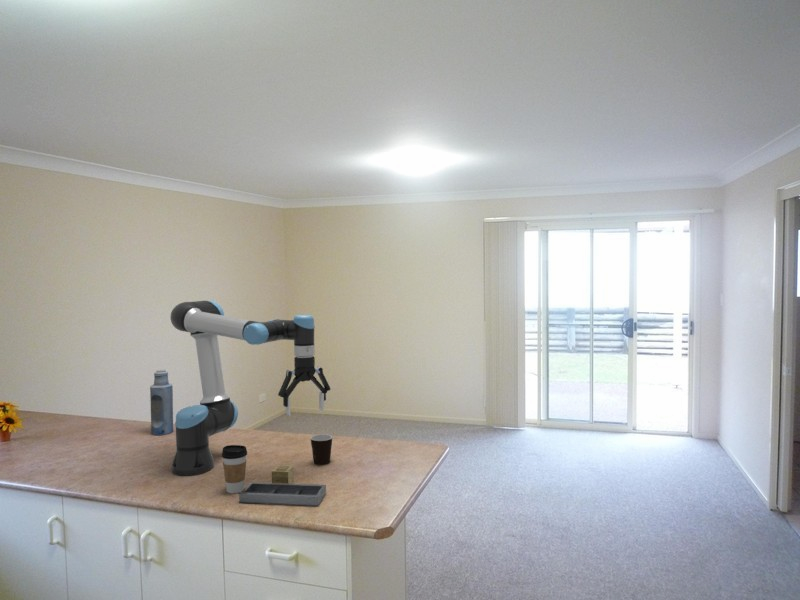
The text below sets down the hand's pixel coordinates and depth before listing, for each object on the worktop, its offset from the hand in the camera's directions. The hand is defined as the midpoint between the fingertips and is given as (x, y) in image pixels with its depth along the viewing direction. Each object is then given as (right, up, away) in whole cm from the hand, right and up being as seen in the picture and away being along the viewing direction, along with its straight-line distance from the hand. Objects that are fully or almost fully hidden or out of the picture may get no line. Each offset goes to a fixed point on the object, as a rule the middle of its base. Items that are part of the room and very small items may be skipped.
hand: (305, 412), depth 199 cm
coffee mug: (+5, -22, +13) cm, 26 cm away
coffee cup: (-21, -24, -16) cm, 36 cm away
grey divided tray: (-3, -24, -23) cm, 33 cm away
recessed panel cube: (-6, -24, -11) cm, 27 cm away
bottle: (-78, -21, +53) cm, 97 cm away
